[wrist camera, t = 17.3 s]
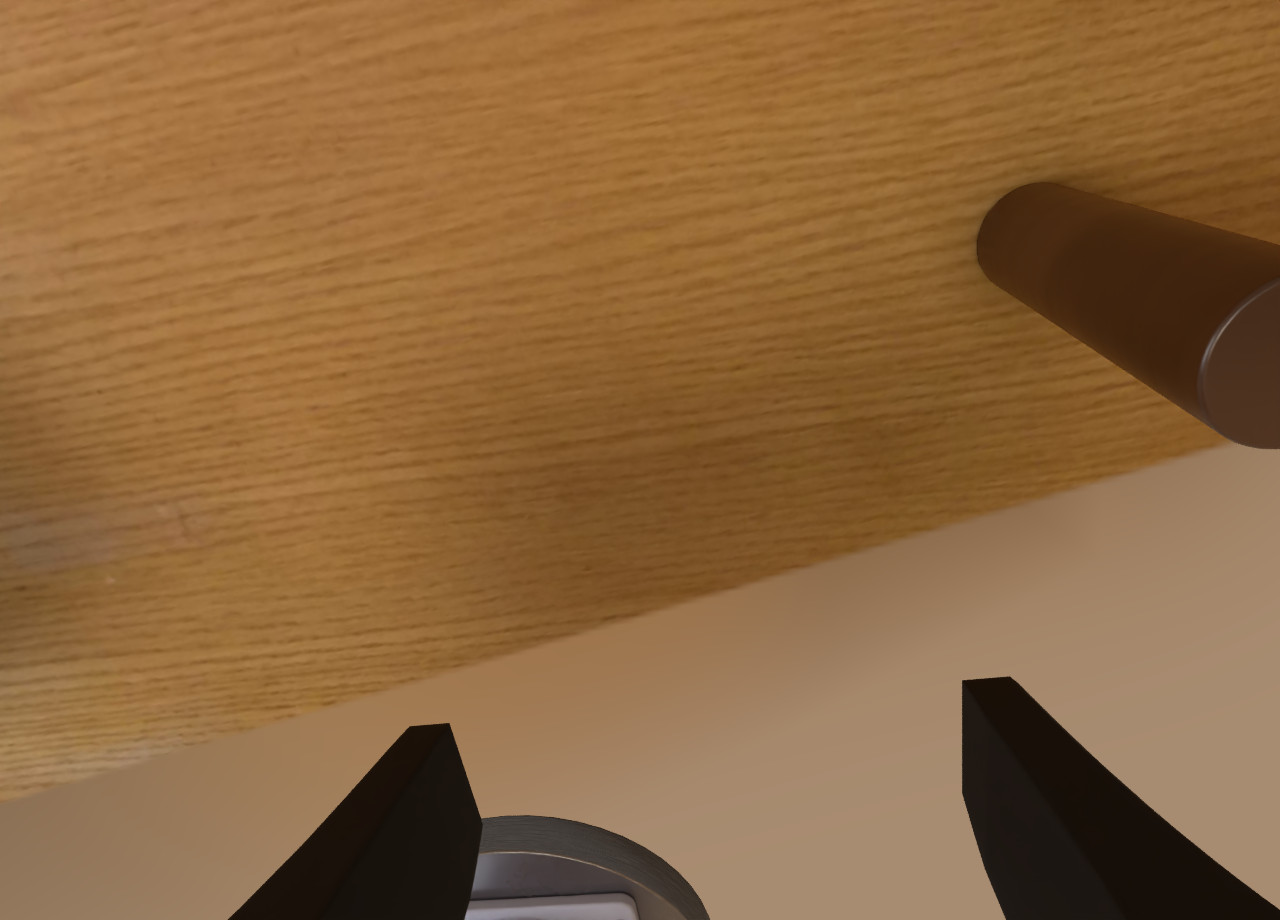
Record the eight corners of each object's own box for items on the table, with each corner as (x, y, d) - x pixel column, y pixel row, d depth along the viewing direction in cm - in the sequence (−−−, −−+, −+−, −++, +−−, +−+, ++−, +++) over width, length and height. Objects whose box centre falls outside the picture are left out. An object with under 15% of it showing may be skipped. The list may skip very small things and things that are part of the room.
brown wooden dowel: (1084, 283, 19) (1390, 439, 10) (975, 298, 19) (1189, 462, 11) (1091, 173, 18) (1434, 250, 9) (976, 191, 18) (1211, 280, 10)
